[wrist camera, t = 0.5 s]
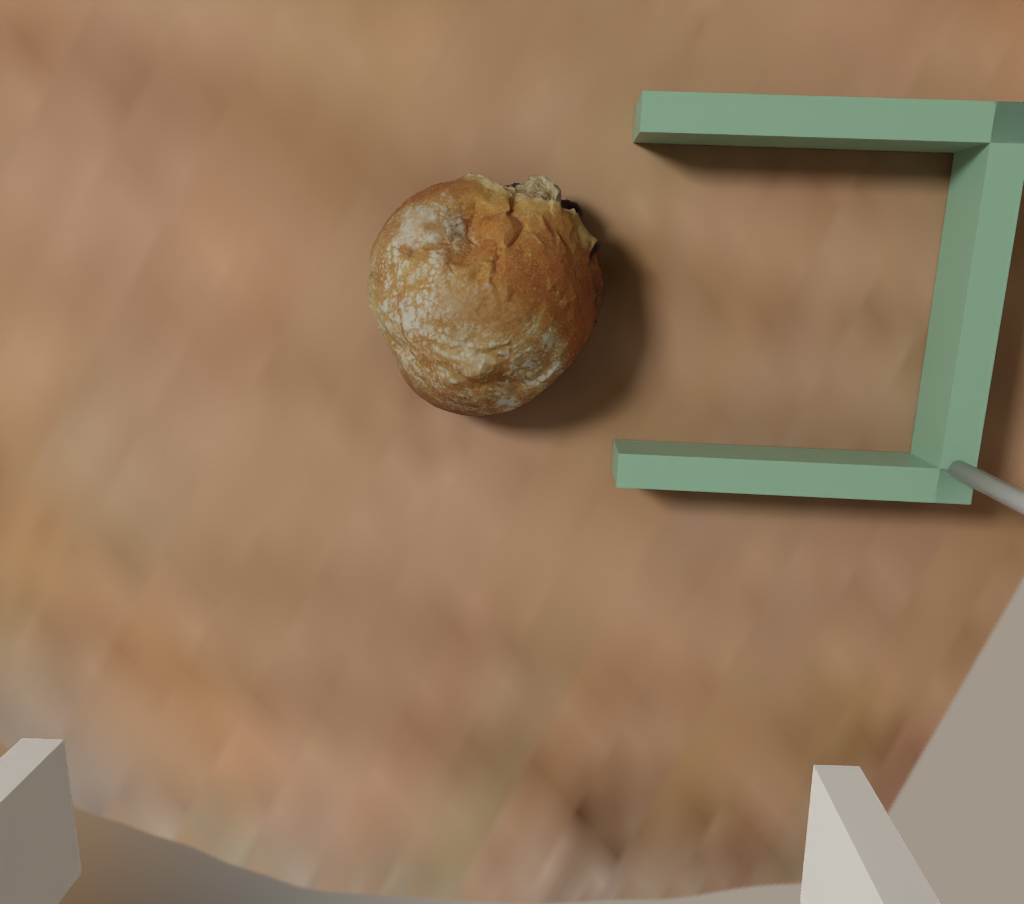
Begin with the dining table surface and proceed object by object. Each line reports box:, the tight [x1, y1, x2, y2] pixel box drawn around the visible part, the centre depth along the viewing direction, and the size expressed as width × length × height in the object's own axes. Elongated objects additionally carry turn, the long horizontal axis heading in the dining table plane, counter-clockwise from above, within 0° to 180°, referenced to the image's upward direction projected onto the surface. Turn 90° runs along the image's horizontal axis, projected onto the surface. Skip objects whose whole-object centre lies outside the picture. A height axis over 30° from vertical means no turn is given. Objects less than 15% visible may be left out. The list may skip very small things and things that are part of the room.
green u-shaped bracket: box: [612, 91, 1024, 515], centre depth 29 cm, size 16×15×17 cm
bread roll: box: [368, 173, 604, 416], centre depth 35 cm, size 10×10×8 cm
